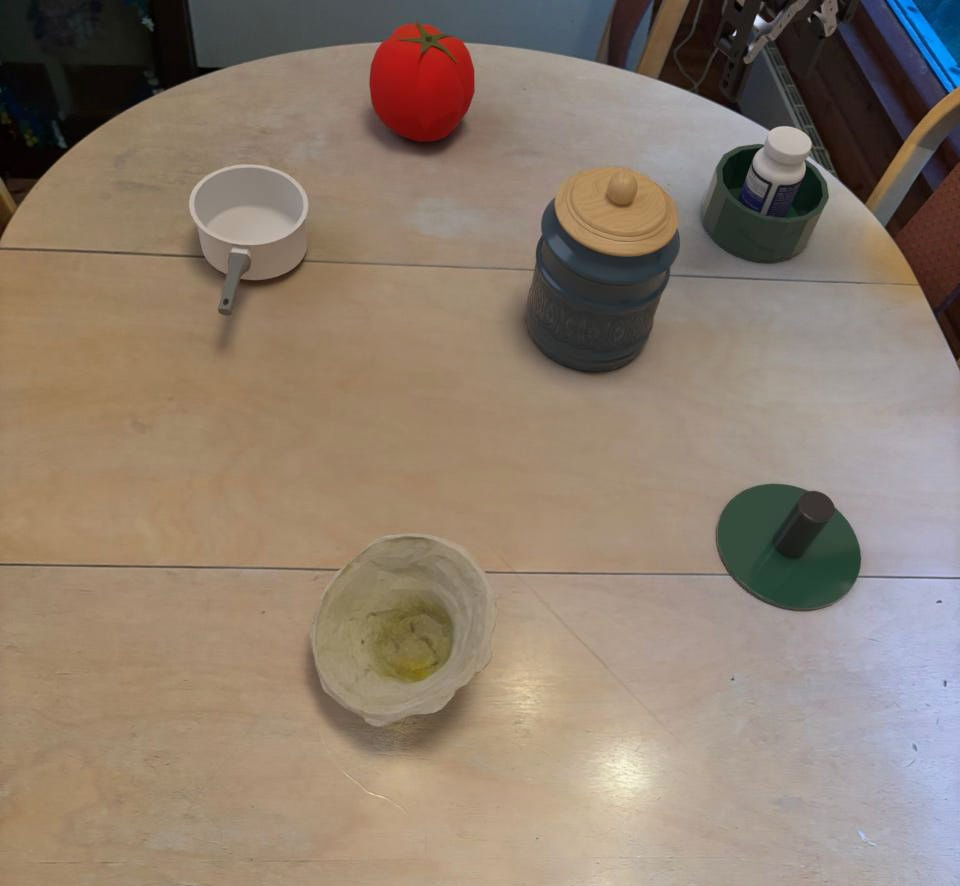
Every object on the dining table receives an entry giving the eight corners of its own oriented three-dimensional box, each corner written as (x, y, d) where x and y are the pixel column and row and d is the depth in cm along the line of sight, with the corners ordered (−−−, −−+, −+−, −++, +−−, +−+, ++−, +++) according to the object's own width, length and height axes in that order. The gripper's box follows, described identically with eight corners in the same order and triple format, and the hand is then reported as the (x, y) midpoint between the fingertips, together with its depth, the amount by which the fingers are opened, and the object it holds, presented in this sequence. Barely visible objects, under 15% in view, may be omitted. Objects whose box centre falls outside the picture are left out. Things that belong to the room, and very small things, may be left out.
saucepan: (171, 346, 91) (160, 302, 86) (209, 205, 100) (200, 157, 95) (292, 359, 92) (287, 316, 87) (318, 218, 101) (315, 171, 96)
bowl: (288, 615, 79) (277, 551, 70) (442, 564, 83) (450, 497, 74) (352, 773, 74) (349, 726, 65) (514, 711, 77) (532, 658, 68)
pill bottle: (781, 209, 108) (817, 128, 99) (780, 243, 106) (817, 163, 97) (732, 199, 108) (764, 117, 99) (729, 232, 105) (762, 151, 97)
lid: (777, 467, 92) (807, 419, 85) (884, 561, 88) (923, 518, 81) (684, 538, 87) (708, 493, 80) (793, 641, 83) (827, 601, 77)
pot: (750, 172, 111) (767, 130, 106) (830, 233, 108) (851, 192, 103) (679, 213, 107) (693, 171, 102) (760, 278, 103) (778, 238, 98)
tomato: (392, 167, 105) (393, 77, 96) (354, 103, 110) (352, 11, 101) (488, 146, 109) (499, 57, 99) (448, 85, 113) (455, -5, 104)
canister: (623, 274, 101) (668, 120, 86) (665, 365, 96) (722, 218, 80) (508, 289, 99) (533, 132, 83) (545, 383, 93) (579, 235, 78)
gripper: (804, -78, 68) (731, 130, 83) (940, -117, 73) (847, 87, 87) (739, -130, 71) (679, 81, 85) (874, -164, 75) (795, 42, 90)
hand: (764, 84), depth 86 cm, fingers open, 8 cm apart
